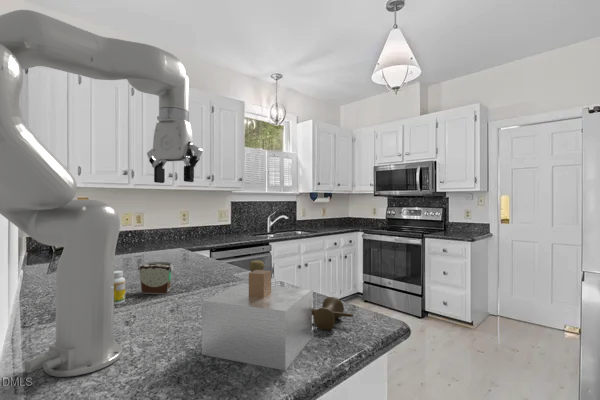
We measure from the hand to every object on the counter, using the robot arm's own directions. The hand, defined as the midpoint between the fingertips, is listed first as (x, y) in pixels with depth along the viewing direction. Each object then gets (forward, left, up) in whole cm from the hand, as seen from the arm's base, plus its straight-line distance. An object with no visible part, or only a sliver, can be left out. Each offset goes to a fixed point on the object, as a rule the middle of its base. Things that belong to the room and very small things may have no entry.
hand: (173, 182), depth 86 cm
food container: (+21, +25, -37) cm, 49 cm away
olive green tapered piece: (+32, -8, -37) cm, 50 cm away
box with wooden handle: (-6, -29, -37) cm, 47 cm away
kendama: (+12, -36, -37) cm, 53 cm away
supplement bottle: (+6, +28, -37) cm, 47 cm away
